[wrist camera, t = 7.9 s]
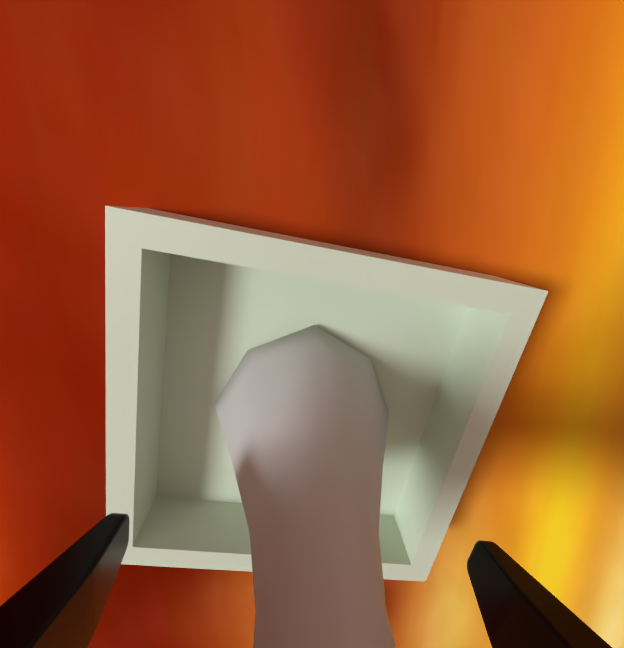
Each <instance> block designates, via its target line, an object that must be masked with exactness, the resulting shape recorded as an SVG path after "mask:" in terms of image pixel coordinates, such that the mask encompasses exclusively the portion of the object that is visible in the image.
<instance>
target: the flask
mask: <svg viewBox="0 0 624 648" xmlns="http://www.w3.org/2000/svg"><path fill="white" fill-rule="evenodd" d="M215 407H216V411H217V415H218V418H219V421H220V425H221V428H222V431H223V434H224V438H225V441H226V444H227V447H228V450H229V454H230V457H231V460H232V464H233V468H234V472H235V476H236V480H237V484H238V488H239V492H240V496H241V500H242V504H243V508H244V512H245V516H246V520H247V524H248V528H249V534H250V546H251V559H252V571H253V584H254V596H255V609H256V614H255V629H254V644H253V648H395V643H394V639H393V635H392V631H391V627H390V623H389V618H388V614H387V610H386V601H385V591H384V581H383V571H382V561H381V551H380V541H379V519H380V504H381V489H382V473H383V461H384V453H385V444H386V436H387V428H388V415H389V412H388V409H387V406H386V403H385V400H384V397H383V394H382V391H381V388H380V385H379V382H378V379H377V376H376V373H375V370H374V367H373V364H372V362H371V359H370V358H369V357H367V356H365V355H364V354H362V353H360V352H359V351H357V350H355V349H353V348H352V347H350V346H348V345H347V344H345V343H343V342H342V341H340V340H338V339H337V338H335V337H333V336H331V335H330V334H328V333H326V332H325V331H323V330H321V329H320V328H318V327H316V326H315V325H313V326H310V327H307V328H305V329H302V330H299V331H297V332H294V333H291V334H289V335H286V336H283V337H281V338H278V339H275V340H273V341H270V342H267V343H265V344H262V345H259V346H257V347H254V348H251V349H249V350H247V352H246V354H245V355H244V357H243V358H242V360H241V362H240V363H239V365H238V366H237V368H236V370H235V371H234V373H233V374H232V376H231V378H230V379H229V381H228V382H227V384H226V386H225V387H224V389H223V390H222V392H221V394H220V395H219V397H218V398H217V400H216V402H215Z"/></svg>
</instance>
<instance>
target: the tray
mask: <svg viewBox="0 0 624 648" xmlns="http://www.w3.org/2000/svg"><path fill="white" fill-rule="evenodd" d="M105 291H106V516H107V515H109V514H111V513H122V514H128V515H129V542H128V546H127V549H126V552H125V555H124V557H123V560H122V562H121V564H128V565H146V566H163V567H181V568H198V569H216V570H234V571H251V572H253V571H252V559H251V546H250V534H249V528H248V524H247V520H246V516H245V512H244V508H243V504H242V500H241V496H240V492H239V488H238V484H237V480H236V476H235V472H234V468H233V464H232V460H231V457H230V454H229V450H228V447H227V444H226V441H225V438H224V434H223V431H222V428H221V425H220V421H219V418H218V415H217V411H216V407H215V402H216V400H217V398H218V397H219V395H220V394H221V392H222V390H223V389H224V387H225V386H226V384H227V382H228V381H229V379H230V378H231V376H232V374H233V373H234V371H235V370H236V368H237V366H238V365H239V363H240V362H241V360H242V358H243V357H244V355H245V354H246V352H247V350H249V349H251V348H254V347H257V346H259V345H262V344H265V343H267V342H270V341H273V340H275V339H278V338H281V337H283V336H286V335H289V334H291V333H294V332H297V331H299V330H302V329H305V328H307V327H310V326H313V325H315V326H316V327H318V328H320V329H321V330H323V331H325V332H326V333H328V334H330V335H331V336H333V337H335V338H337V339H338V340H340V341H342V342H343V343H345V344H347V345H348V346H350V347H352V348H353V349H355V350H357V351H359V352H360V353H362V354H364V355H365V356H367V357H369V358H370V359H371V362H372V364H373V367H374V370H375V373H376V376H377V379H378V382H379V385H380V388H381V391H382V394H383V397H384V400H385V403H386V406H387V409H388V412H389V415H388V428H387V436H386V444H385V453H384V461H383V473H382V489H381V504H380V519H379V541H380V551H381V561H382V571H383V579H391V580H409V581H426V579H427V577H428V574H429V572H430V569H431V567H432V565H433V562H434V560H435V558H436V555H437V553H438V551H439V548H440V546H441V544H442V541H443V539H444V536H445V534H446V532H447V529H448V527H449V525H450V522H451V520H452V518H453V515H454V513H455V511H456V508H457V506H458V503H459V501H460V499H461V496H462V494H463V492H464V489H465V487H466V485H467V482H468V480H469V478H470V475H471V473H472V470H473V468H474V466H475V463H476V461H477V459H478V456H479V454H480V452H481V449H482V447H483V444H484V442H485V440H486V437H487V435H488V433H489V430H490V428H491V426H492V423H493V421H494V419H495V416H496V414H497V411H498V409H499V407H500V404H501V402H502V400H503V397H504V395H505V393H506V390H507V388H508V386H509V383H510V381H511V378H512V376H513V374H514V371H515V369H516V367H517V364H518V362H519V360H520V357H521V355H522V353H523V350H524V348H525V345H526V343H527V341H528V338H529V336H530V334H531V331H532V329H533V327H534V324H535V322H536V319H537V317H538V315H539V312H540V310H541V308H542V305H543V303H544V301H545V298H546V296H547V294H548V291H546V290H543V289H539V288H536V287H532V286H529V285H525V284H522V283H518V282H515V281H511V280H508V279H504V278H500V277H497V276H493V275H488V274H483V273H478V272H473V271H468V270H462V269H457V268H452V267H447V266H442V265H437V264H432V263H427V262H421V261H416V260H411V259H406V258H401V257H396V256H391V255H386V254H380V253H375V252H370V251H365V250H360V249H355V248H350V247H345V246H339V245H334V244H329V243H324V242H319V241H314V240H309V239H304V238H298V237H293V236H288V235H283V234H278V233H273V232H268V231H263V230H257V229H252V228H247V227H242V226H237V225H232V224H227V223H222V222H216V221H211V220H206V219H201V218H196V217H191V216H186V215H181V214H175V213H170V212H165V211H160V210H155V209H150V208H136V207H120V206H105Z"/></svg>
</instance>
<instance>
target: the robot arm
mask: <svg viewBox="0 0 624 648" xmlns="http://www.w3.org/2000/svg"><path fill="white" fill-rule="evenodd" d="M128 542H129V515H128V514H122V513H111V514H109V515H107V516H106V517H105V518H103V519H102V520H101V521H100V522H99V523H98V524H96V525H95V526H94V527H93V528H92V529H90V530H89V531H88V532H87V533H86V534H85V535H83V536H82V537H81V538H80V539H79V540H78V541H76V542H75V543H74V544H73V545H72V546H70V547H69V548H68V549H67V550H66V551H65V552H63V553H62V554H61V555H60V556H59V557H58V558H56V559H55V560H54V561H53V562H52V563H50V564H49V565H48V566H47V567H46V568H45V569H43V570H42V571H41V572H40V573H39V574H38V575H36V576H35V577H34V578H33V579H32V580H30V581H29V582H28V583H27V584H26V585H25V586H23V587H22V588H21V589H20V590H19V591H17V592H16V593H15V594H14V595H13V596H12V597H10V598H9V599H8V600H7V601H6V602H5V603H3V604H2V605H1V606H0V648H87V647H88V645H89V643H90V640H91V638H92V636H93V634H94V632H95V629H96V627H97V624H98V622H99V619H100V617H101V614H102V612H103V609H104V606H105V604H106V601H107V599H108V596H109V594H110V591H111V588H112V586H113V583H114V581H115V578H116V575H117V573H118V570H119V568H120V565H121V562H122V560H123V557H124V555H125V552H126V549H127V546H128ZM467 569H468V574H469V577H470V580H471V583H472V586H473V589H474V593H475V596H476V599H477V602H478V605H479V608H480V612H481V615H482V618H483V621H484V624H485V627H486V630H487V633H488V636H489V639H490V642H491V645H492V648H612V647H611V646H610V645H608V644H607V643H606V642H605V641H604V640H603V639H602V638H601V637H599V636H598V635H597V634H596V633H595V632H594V631H593V630H592V629H591V628H589V627H588V626H587V625H586V624H585V623H584V622H583V621H582V620H580V619H579V618H578V617H577V616H576V615H575V614H574V613H573V612H572V611H570V610H569V609H568V608H567V607H566V606H565V605H564V604H563V603H561V602H560V601H559V600H558V599H557V598H556V597H555V596H554V595H553V594H551V593H550V592H549V591H548V590H547V589H546V588H545V587H544V586H542V585H541V584H540V583H539V582H538V581H537V580H536V579H535V578H533V577H532V576H531V575H530V574H529V573H528V572H527V571H526V570H525V569H523V568H522V567H521V566H520V565H519V564H518V563H517V562H516V561H514V560H513V559H512V558H511V557H510V556H509V555H508V554H507V553H506V552H504V551H503V550H502V549H501V548H500V547H499V546H498V545H496V544H495V543H494V542H491V541H478V542H476V544H475V546H474V548H473V550H472V552H471V554H470V557H469V559H468V561H467Z"/></svg>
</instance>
